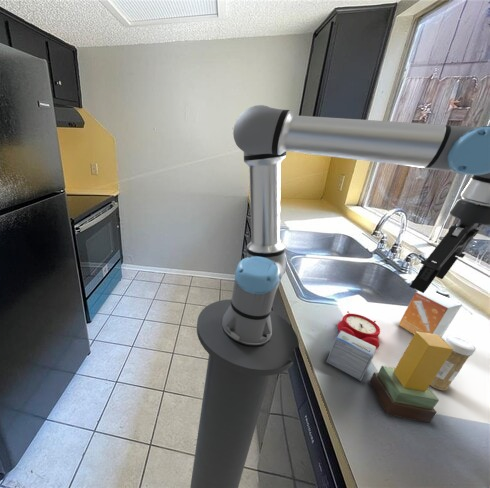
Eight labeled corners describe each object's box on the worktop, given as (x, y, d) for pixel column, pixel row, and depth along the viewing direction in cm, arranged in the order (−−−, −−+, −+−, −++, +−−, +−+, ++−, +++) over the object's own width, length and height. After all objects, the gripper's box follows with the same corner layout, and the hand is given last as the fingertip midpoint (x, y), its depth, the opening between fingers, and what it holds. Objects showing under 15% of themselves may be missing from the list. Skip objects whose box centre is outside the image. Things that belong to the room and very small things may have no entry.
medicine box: (364, 371, 66) (377, 346, 62) (360, 382, 63) (373, 356, 60) (330, 353, 71) (340, 329, 67) (325, 362, 68) (335, 337, 65)
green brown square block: (368, 382, 63) (378, 363, 61) (406, 389, 62) (417, 370, 59) (386, 414, 56) (398, 394, 53) (429, 423, 55) (444, 403, 52)
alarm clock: (382, 320, 79) (388, 340, 67) (374, 338, 80) (379, 360, 68) (342, 307, 84) (341, 322, 72) (336, 324, 86) (334, 342, 74)
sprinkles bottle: (452, 393, 61) (482, 351, 56) (430, 389, 62) (458, 347, 57) (438, 376, 65) (465, 336, 60) (417, 373, 66) (442, 332, 61)
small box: (397, 325, 83) (414, 291, 77) (411, 321, 85) (428, 288, 79) (427, 343, 76) (448, 307, 70) (441, 339, 77) (463, 304, 72)
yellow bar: (393, 371, 58) (415, 331, 53) (413, 375, 58) (438, 334, 53) (403, 387, 55) (429, 345, 50) (425, 391, 54) (453, 349, 49)
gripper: (495, 216, 46) (428, 306, 56) (519, 203, 59) (460, 278, 69) (441, 202, 52) (388, 286, 62) (474, 193, 64) (425, 264, 74)
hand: (426, 282), depth 65 cm, fingers open, 13 cm apart
